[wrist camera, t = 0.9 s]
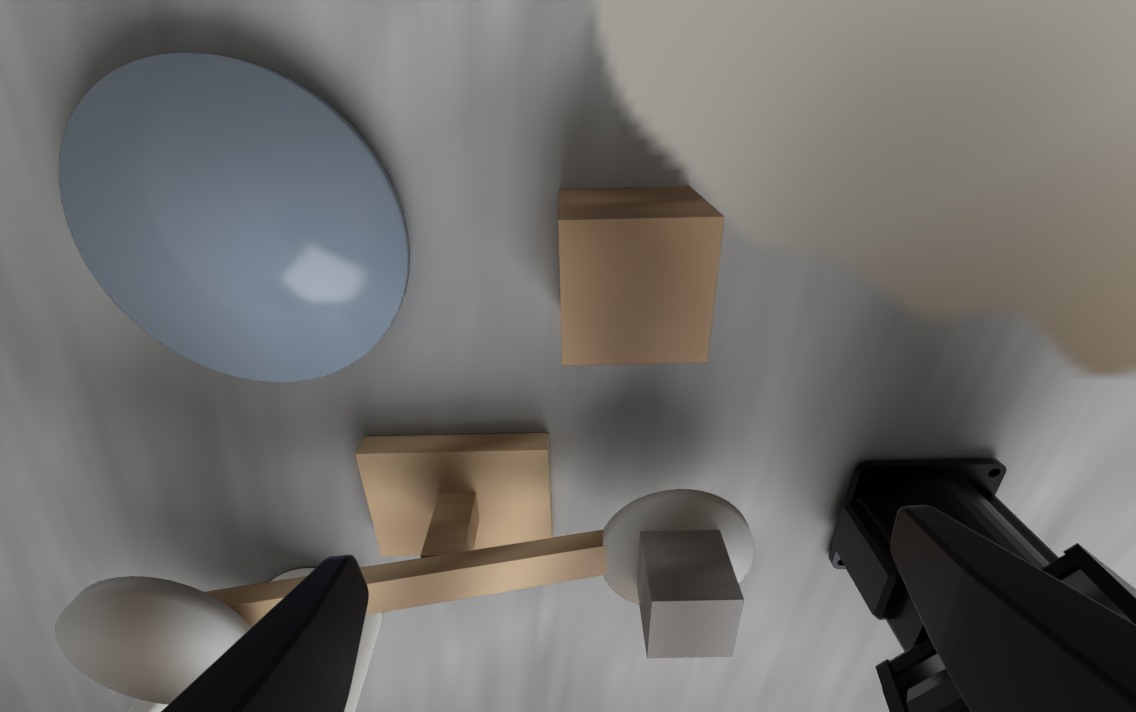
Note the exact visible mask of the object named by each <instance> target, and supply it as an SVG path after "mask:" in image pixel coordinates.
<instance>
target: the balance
mask: <svg viewBox="0 0 1136 712" xmlns="http://www.w3.org/2000/svg"><path fill="white" fill-rule="evenodd" d="M355 456H356V460H357V464H358V468H359V471H360V475H361V479H362V483H363V487H364V491H365V494H366V498H367V502H368V506H369V510H370V514H371V517H372V521H373V525H374V529H375V533H376V537H377V540H378V544H379V548H380V552H381V556H408V555H420V556H421V558H419V559H413V560H406V561H400V562H394V563H387V564H381V565H374V566H368V567H362V568H360V569H361V572H362V574H363V576H364V579H365V581H366V583H367V586H368V590H369V600H368V606H367V611H366V615H370V614H376V613H381V612H387V611H393V610H399V609H405V608H411V607H417V606H423V605H429V604H435V603H440V602H446V601H452V600H458V599H464V598H470V597H476V596H482V595H488V594H494V593H499V592H505V591H511V590H517V589H523V588H529V587H535V586H541V585H547V584H553V583H558V582H564V581H570V580H576V579H582V578H588V577H594V576H600V575H603V577H604V579H605V581H606V582H607V583H608V585H609V586H610V587H611V588H612V589H613V590H614V591H615V592H616V593H617V594H618V595H620V596H621V597H623V598H625V599H626V600H628V601H630V602H633V603H635V604H638V605H640V612H641V619H642V626H643V632H644V639H645V646H646V653H647V658H682V657H731V656H732V655H733V651H734V646H735V641H736V636H737V631H738V626H739V621H740V616H741V612H742V607H743V602H744V598H743V596H742V593H741V590H740V587H739V583H740V581H741V580H742V579H743V578H744V577H745V575H746V574H747V572H748V571H749V569H750V567H751V565H752V562H753V559H754V552H755V547H754V540H753V537H752V534H751V532H750V529H749V527H748V524H747V522H746V520H745V518H744V517H743V515H742V514H741V512H740V511H739V510H738V509H737V508H736V507H735V506H734V505H732V504H731V503H729V502H728V501H727V500H725V499H723V498H721V497H719V496H716V495H714V494H711V493H707V492H703V491H698V490H691V489H675V490H666V491H660V492H656V493H652V494H649V495H646V496H644V497H641V498H639V499H637V500H635V501H633V502H631V503H629V504H628V505H626V506H625V507H623V508H622V509H621V510H619V511H618V512H617V513H616V514H615V515H614V516H613V517H612V518H611V519H610V520H609V522H608V523H607V525H606V526H605V528H604V530H599V531H592V532H586V533H579V534H573V535H567V536H560V537H554V538H553V525H552V503H551V480H550V458H549V436H548V433H511V434H463V435H415V436H367V437H364V438H363V440H362V442H361V444H360V446H359V448H358V449H357V451H356V453H355ZM305 577H306V576H304V577H298V578H291V579H285V580H278V581H272V582H266V583H259V584H253V585H246V586H240V587H233V588H227V589H221V590H214V591H208V592H203V591H200V590H198V589H196V588H193V587H190V586H187V585H184V584H181V583H177V582H174V581H170V580H164V579H159V578H151V577H135V576H130V577H118V578H112V579H107V580H103V581H100V582H97V583H95V584H93V585H91V586H89V587H87V588H86V589H84V590H83V591H82V592H81V593H80V594H79V595H78V596H77V597H76V598H75V599H74V600H73V601H72V602H71V603H70V604H69V605H68V606H67V608H66V609H65V610H64V611H63V612H62V613H61V614H60V616H59V618H58V619H57V623H56V627H55V634H56V639H57V642H58V644H59V647H60V649H61V650H62V652H63V653H64V655H65V656H66V657H67V659H68V660H69V661H70V662H71V663H72V664H73V665H74V666H75V667H76V668H77V669H78V670H80V671H81V672H82V673H84V674H85V675H86V676H88V677H89V678H91V679H93V680H94V681H96V682H98V683H99V684H101V685H103V686H105V687H107V688H109V689H112V690H114V691H116V692H119V693H121V694H124V695H127V696H130V697H133V698H137V699H140V700H144V701H149V702H154V703H160V704H168V705H169V704H170V703H171V702H172V701H173V700H174V699H175V698H176V697H177V696H178V695H179V694H180V693H181V692H183V691H184V690H185V689H186V688H187V687H188V686H189V685H190V684H191V683H192V682H193V681H194V680H195V679H197V678H198V677H199V676H200V675H201V674H202V673H203V672H204V671H205V670H206V669H207V668H208V667H210V666H211V665H212V664H213V663H214V662H215V661H216V660H217V659H218V658H219V657H220V656H221V655H222V654H224V653H225V652H226V651H227V650H228V649H229V648H230V647H231V646H232V645H233V644H234V643H235V642H236V641H238V640H239V639H240V638H241V637H242V636H243V635H244V634H245V633H246V632H247V631H248V630H249V629H250V628H252V627H253V626H254V625H255V624H256V623H257V622H258V621H259V620H260V619H261V618H262V617H263V616H264V615H266V614H267V613H268V612H269V611H270V610H271V609H272V608H273V607H274V606H275V605H276V604H277V603H278V602H280V601H281V600H282V599H283V598H284V597H285V596H286V595H287V594H288V593H289V592H290V591H291V590H292V589H294V588H295V587H296V586H297V585H298V584H299V583H300V582H301V581H302V580H303V579H304V578H305Z"/></svg>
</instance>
